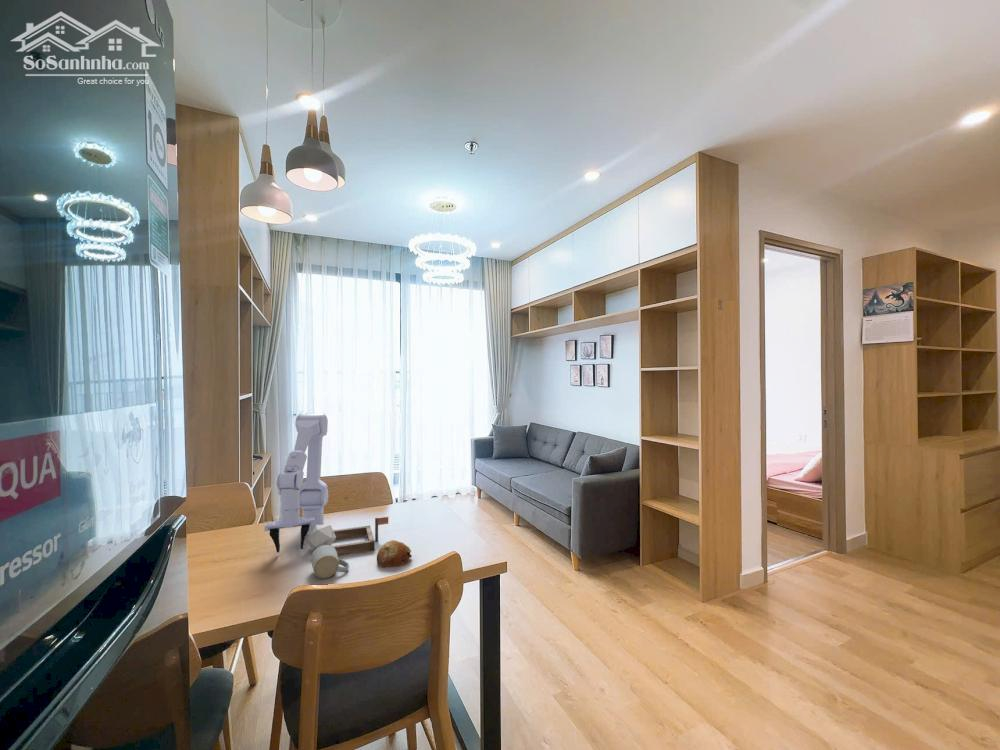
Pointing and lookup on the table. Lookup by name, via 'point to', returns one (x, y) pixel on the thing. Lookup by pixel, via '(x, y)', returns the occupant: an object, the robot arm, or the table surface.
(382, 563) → the bread roll
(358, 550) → the wooden tray
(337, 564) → the ceramic mug
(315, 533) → the die
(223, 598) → the table surface
